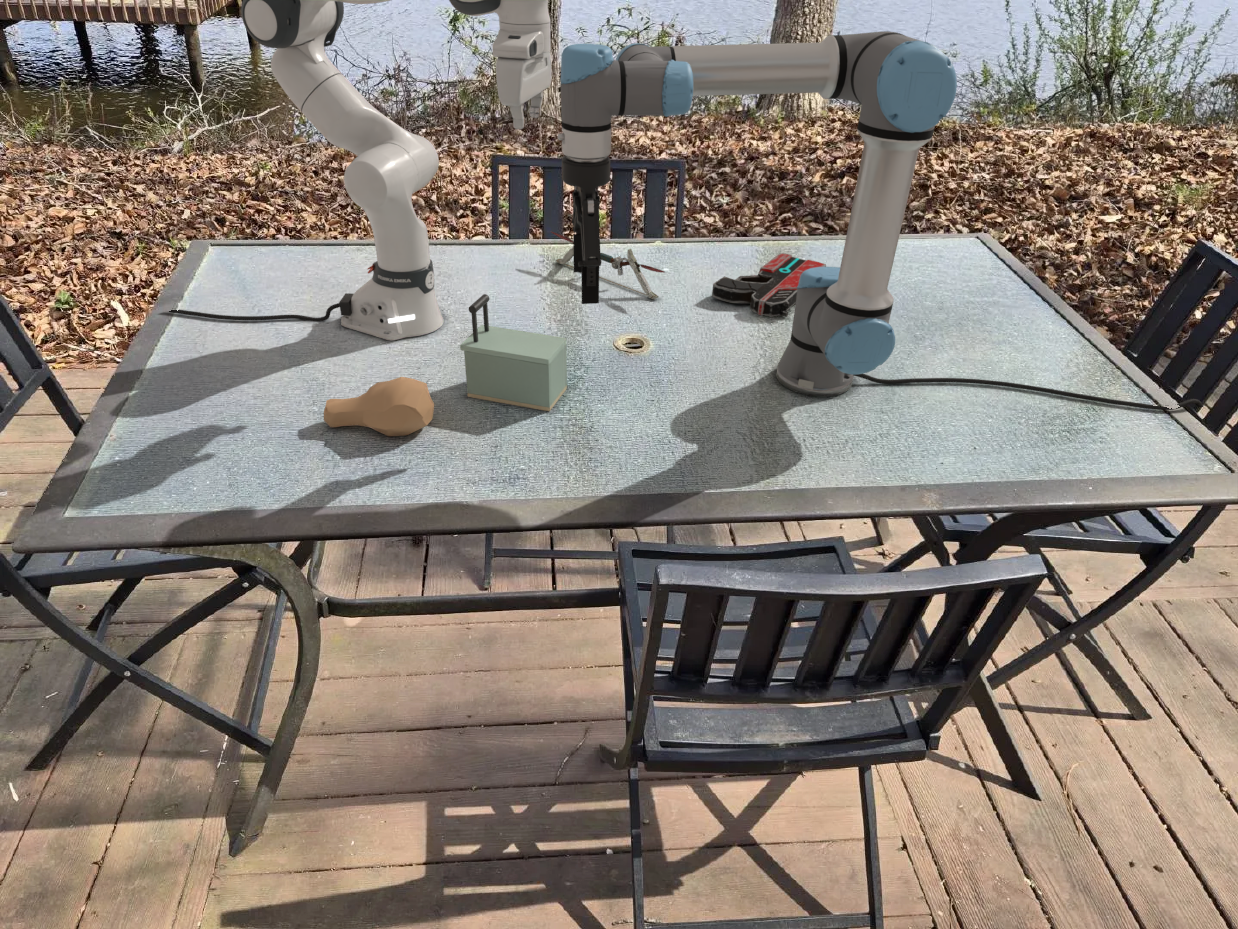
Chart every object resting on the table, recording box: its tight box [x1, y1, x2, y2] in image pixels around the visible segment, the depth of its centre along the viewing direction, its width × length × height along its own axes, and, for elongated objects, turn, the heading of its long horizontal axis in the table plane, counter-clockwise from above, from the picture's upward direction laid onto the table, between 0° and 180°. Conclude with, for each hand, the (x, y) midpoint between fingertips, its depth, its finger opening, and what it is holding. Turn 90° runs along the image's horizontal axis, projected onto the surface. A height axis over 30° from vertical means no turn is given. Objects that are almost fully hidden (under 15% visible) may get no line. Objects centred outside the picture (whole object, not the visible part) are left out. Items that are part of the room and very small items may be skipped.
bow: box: [550, 231, 666, 300], centre depth 217 cm, size 39×2×10 cm, turn 47°
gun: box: [711, 252, 827, 318], centre depth 215 cm, size 4×31×19 cm
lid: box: [459, 293, 568, 365], centre depth 163 cm, size 18×10×8 cm, turn 73°
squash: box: [323, 376, 435, 437], centre depth 157 cm, size 11×20×9 cm, turn 90°
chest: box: [463, 343, 568, 412], centre depth 168 cm, size 17×10×10 cm, turn 73°
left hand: (527, 122), depth 161 cm, fingers open, 8 cm apart
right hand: (585, 286), depth 146 cm, fingers open, 13 cm apart
